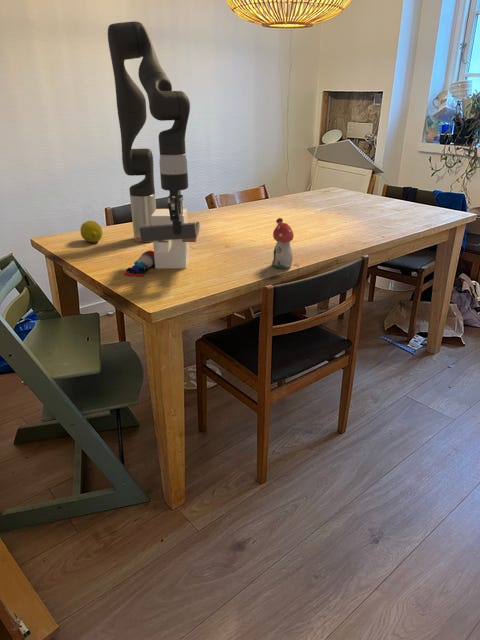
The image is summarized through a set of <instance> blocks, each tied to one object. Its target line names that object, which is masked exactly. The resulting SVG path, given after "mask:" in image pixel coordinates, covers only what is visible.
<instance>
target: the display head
mask: <svg viewBox="0 0 480 640" xmlns="http://www.w3.org/2000/svg"><path fill="white" fill-rule="evenodd" d="M181 220H182V224H183V223H189V222H188V208H183V214H182V219H181ZM151 222H152V226H156V225H170V224H173V223H172V221H171V220H170V213H169V208H156V210H155V211H154V213H153V214H152V215H151ZM199 232H200V230H199V231H198V234H197V237H196V238H188V239H174V240H161V241H152V244H153V251H154V258H155V263H154V269H187V267H188V264H189V260H190V248H189V247H190V246H189V245H190V244H189V243H196V242H197V239H198V235H199ZM135 243H143V242H142V241H141V235H140V232H139V233H138V235H137V236H136V241H135ZM147 243H151V242H150V241H148V242H147Z"/></svg>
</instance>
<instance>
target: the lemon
mask: <svg viewBox="0 0 480 640" xmlns="http://www.w3.org/2000/svg"><path fill="white" fill-rule="evenodd" d="M80 236H81V237H82V239H83V240H84V241H86V242H88V243H92V244H93V243H94V244H95V243H97V242H99V241H100V240H101V239H102V238H103V229H102V227H101V225H100V224H99V223H98V222H96V221H93V220H87V221H85V222H82V225H81V226H80Z"/></svg>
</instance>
